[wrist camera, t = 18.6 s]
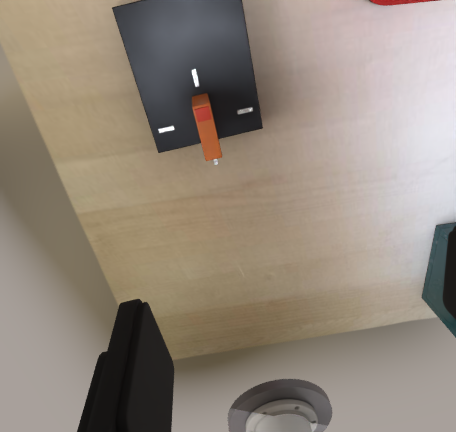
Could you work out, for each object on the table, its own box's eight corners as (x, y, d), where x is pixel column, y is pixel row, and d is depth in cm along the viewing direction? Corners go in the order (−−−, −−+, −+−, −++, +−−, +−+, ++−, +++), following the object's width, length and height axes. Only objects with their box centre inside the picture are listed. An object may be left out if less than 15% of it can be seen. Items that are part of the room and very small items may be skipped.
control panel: (262, 144, 36) (267, 152, 34) (167, 167, 37) (165, 176, 34) (234, -20, 29) (238, -24, 27) (117, 8, 30) (111, 7, 27)
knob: (218, 141, 33) (222, 158, 29) (204, 145, 33) (206, 162, 29) (207, 92, 31) (210, 103, 27) (191, 96, 31) (192, 107, 27)
